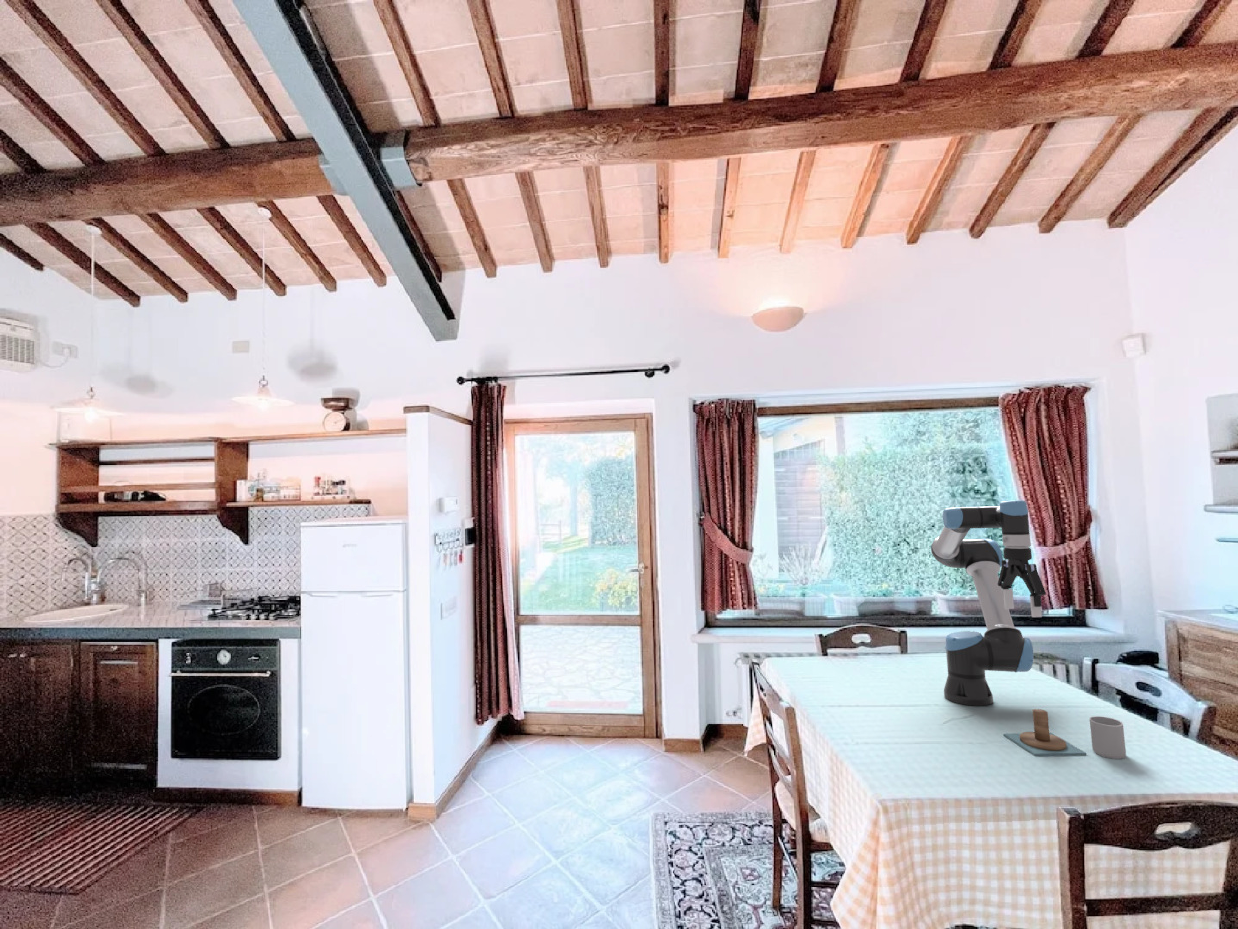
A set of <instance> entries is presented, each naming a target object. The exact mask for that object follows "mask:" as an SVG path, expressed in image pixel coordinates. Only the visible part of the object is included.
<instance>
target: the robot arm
mask: <svg viewBox="0 0 1238 929" xmlns="http://www.w3.org/2000/svg"><path fill="white" fill-rule="evenodd" d="M942 521H943V525H944V526H943V528H942V530H941V532H940V534H939V536H938V537H936V538H935V539H933V541H932V544H931V546H930V551H931V554H932V556H933V558H934V559H935V561H937V562H938V563H940V564H941V565H943V566H945V567H949V568H953V569H965V571H966V573H967V575H969V576H970V577H972V580H973V584H974V588H975V590H976V594H977V598H978V602H979V604H980V608H981V612H982V615H983V619H984V622H985V625H986V626H985V627H986V629H987V630H986V631H985V632H984V633H983V635H982V633H981V632H978V631H975V630H974V631H970V630H966V631H965V630H963V631H962V630H961V631H955V632H951V633H949V634H948V635H947V636H946V637H945V647H944V649H945V651H946V653H945V654H946V665H947V677H946V682H945V685H944V688H943V696H944V698H945V699H947V700H949V701H951V702H953V703H957V704H961V705H967V706H975V707H976V706H978V707H981V706H990V705H992V704H993V703H994V697H993V694H992V691H991V688H990V686H989V684H988V682H987V678H986V671H991V672H993V671H994V672H1008V673H1009V672H1011V673H1021V672H1022V673H1026V672H1029V671H1031V669H1032V668H1033V664H1034V647H1033V643H1032V641H1031V639H1030V638H1028V637H1026V636H1025V637H1023V634H1022V632H1021V629H1018V628H1016V627H1015V625H1014V620H1013V619H1012V615H1011V613H1010V610H1015V604H1014V603H1015V602H1014V601H1015V600H1014V593H1013V592H1014V591H1013V587H1012V586H1013V584H1014V582H1015V580H1016V578H1017V577H1019V578H1020V579H1022V580H1023V582H1024V584H1025V586H1026V588H1027V589H1028V591H1029V593H1030V594H1029V602H1030V613H1031V618H1042V617H1043V613H1042V612H1043V611H1042V596H1046V595H1047V593H1046V592H1047V591H1046V590H1045V587H1044V584H1043V583H1042V580H1041V577H1040V575H1039V573H1038V569H1037V568H1038V567H1037V564H1035V563H1029V561H1030V560H1032V559H1033V558H1032V549H1031V546H1032V544H1031V543H1032V542H1031V534H1030V522H1029V509H1028V503H1027V501H1026V500H1023V499H1022V500H1016V499H1015V500H1014V499H1013V500H1002V501H1000V502H999V505H995V506H993V505H992V506H966V507H965V506H962V507H961V506H959V507H958V506H954V507H946V508H944V509H943V510H942ZM971 529H1001V535H1002V538H1001V539H1002V545H1003V547H1004V548H1003V552H1002V549H1001V547H1000V545H999V544H998V542H996V540H993V539H991V538H980V537H979V538H970V539H967V538H966V536H967V534H968V533H969V531H970V530H971ZM965 538H966V539H965Z"/></svg>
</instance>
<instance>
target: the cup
mask: <svg viewBox="0 0 1238 929" xmlns="http://www.w3.org/2000/svg"><path fill="white" fill-rule="evenodd" d="M1089 726H1090V728H1089V729H1090V738H1091V747H1092V751H1093V752H1094V753H1095V754H1096V755H1097V756H1100V757H1104V758H1108V759H1113V760H1123V759H1125V758H1126V756H1127V751H1126V742H1125V732H1124V723H1123V722H1122V721H1120V720H1119V719H1115V718H1111V717H1108V716H1098V715H1097V716H1095V715H1094V716H1090V717H1089Z"/></svg>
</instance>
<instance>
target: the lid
mask: <svg viewBox="0 0 1238 929" xmlns="http://www.w3.org/2000/svg"><path fill="white" fill-rule="evenodd" d="M1032 719H1033V730H1034V731H1024V732H1020V733H1021V734H1020V740H1021V742H1023V743H1024V744H1026V745H1028V746H1031V747H1034V748H1037V749H1041V750H1048V751H1062V750H1065V749H1066V748H1067V745H1066V742H1067V741H1066V740H1065V739H1063V738H1061V737H1059V736H1058V737H1057V735H1056V736H1054V735H1055V734H1054V735H1051V734H1050V733H1051V732H1050V724H1049V712H1048V711H1047V710H1045V709H1040V708H1035V709H1034V708H1033V709H1032ZM1064 740H1065V741H1066V742H1065V741H1064Z"/></svg>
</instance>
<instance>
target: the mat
mask: <svg viewBox="0 0 1238 929" xmlns="http://www.w3.org/2000/svg"><path fill="white" fill-rule="evenodd" d="M1021 733H1022V732H1017V733H1016V732H1012V733H1011V732H1009V733H1007V732H1006V733H1003V736H1004V737H1005V738H1007V739H1009V740H1010V741H1011V742H1013V743H1014V744H1016V745H1017V746H1019V747H1021V748H1022V749H1024V750H1025V751H1027V752H1028V753H1029V754H1030V755H1032V756H1034V757H1046V756H1047V757H1048V756H1052V757H1054V756H1055V757H1056V756H1060V757H1061V756H1087V752H1086V751H1084V750H1082V749H1080V748H1078V747H1077V746H1074V745H1073V744H1072V743H1070V742H1068V741H1066V740H1065V739H1063V740H1064V741H1065V742H1066V745H1067V748H1066V749H1065V750H1062V751H1048V750H1041V749H1037V748H1034V747H1031V746H1028V745H1026V744H1024V743H1023V742H1021V740H1020V734H1021ZM1049 733H1050V734H1051V735H1054V736H1057V735H1056V734H1054V733H1052V732H1049ZM1057 737H1059V736H1057Z"/></svg>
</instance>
